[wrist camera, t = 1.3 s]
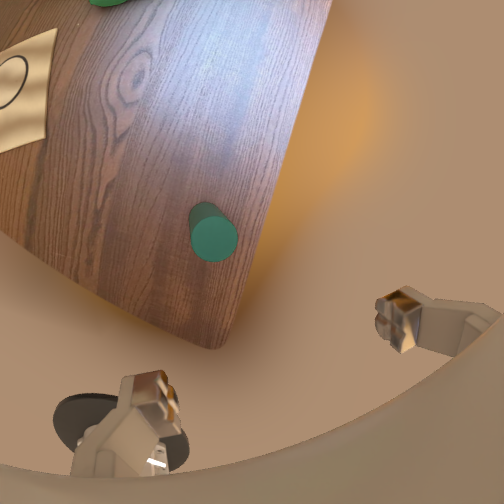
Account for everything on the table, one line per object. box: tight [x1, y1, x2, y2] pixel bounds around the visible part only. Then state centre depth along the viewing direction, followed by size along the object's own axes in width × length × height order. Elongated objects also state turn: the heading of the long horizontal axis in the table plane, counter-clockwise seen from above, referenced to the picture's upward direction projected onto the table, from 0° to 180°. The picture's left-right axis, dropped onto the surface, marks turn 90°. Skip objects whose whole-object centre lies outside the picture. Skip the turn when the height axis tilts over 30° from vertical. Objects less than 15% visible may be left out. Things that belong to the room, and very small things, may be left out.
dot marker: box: [189, 202, 238, 262], centre depth 26 cm, size 4×4×11 cm
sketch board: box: [0, 28, 58, 153], centre depth 20 cm, size 16×12×1 cm
